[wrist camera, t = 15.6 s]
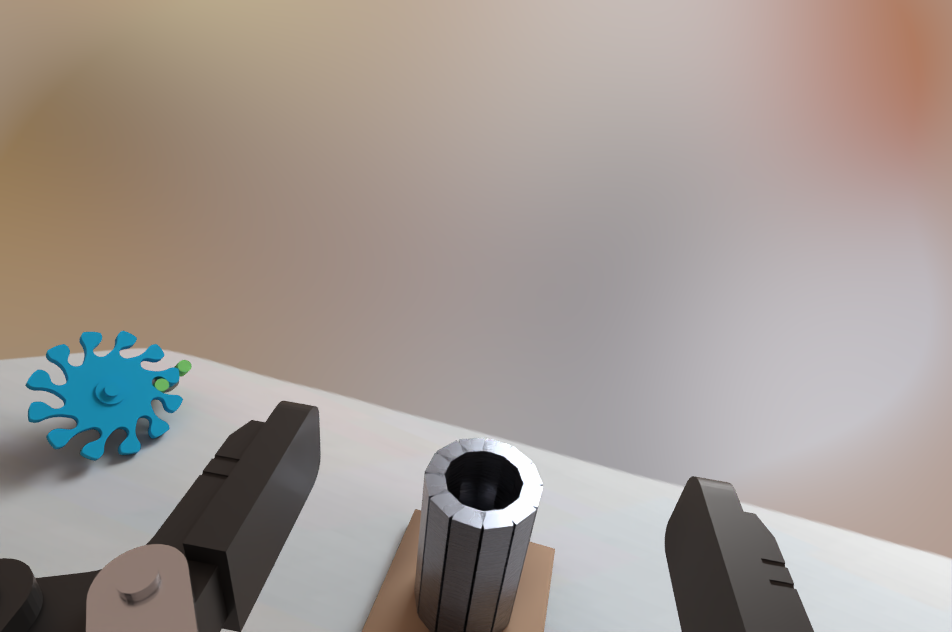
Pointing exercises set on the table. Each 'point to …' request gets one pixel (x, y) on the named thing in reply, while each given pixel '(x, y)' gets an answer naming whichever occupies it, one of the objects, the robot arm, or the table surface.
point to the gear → (107, 393)
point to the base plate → (394, 611)
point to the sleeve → (474, 535)
